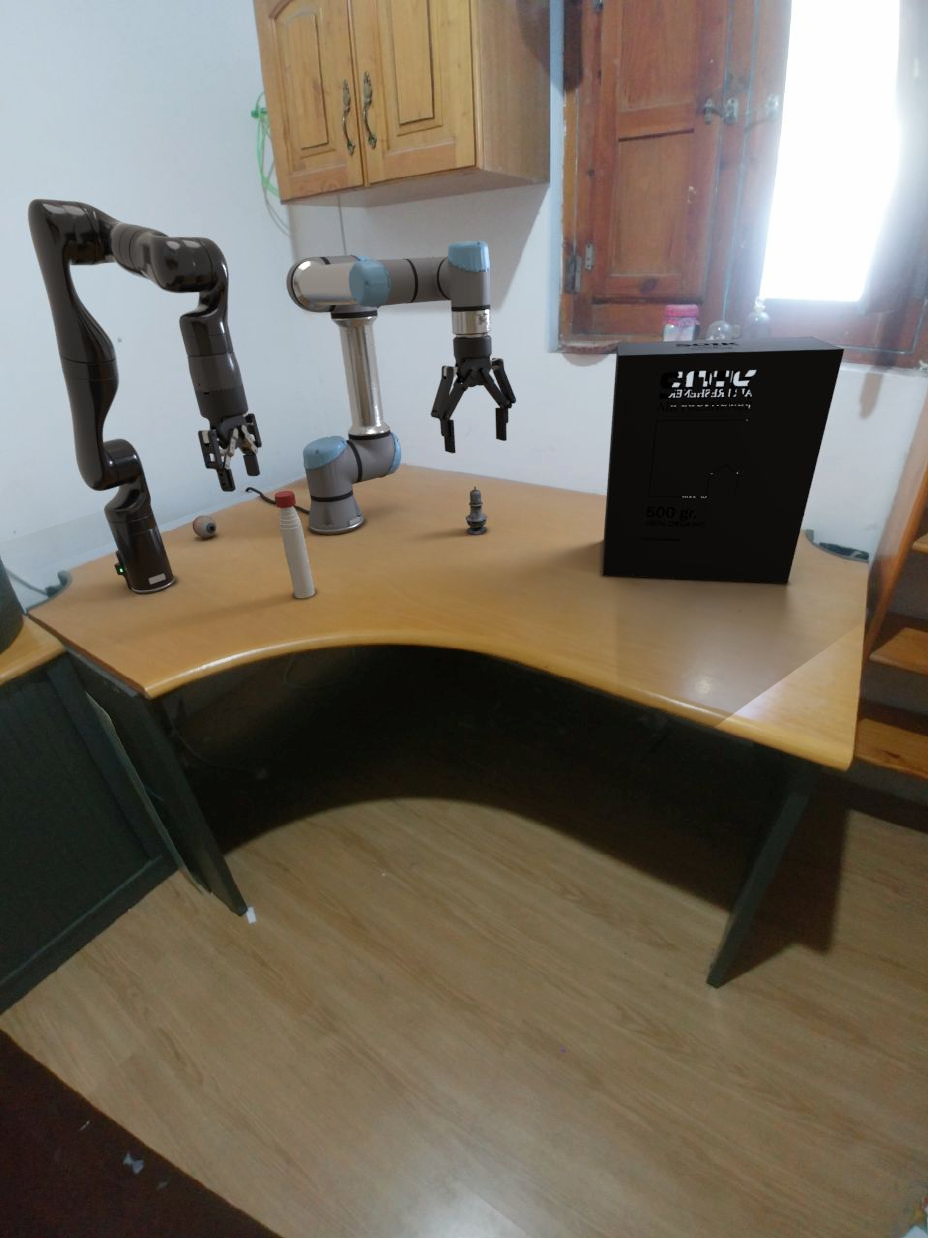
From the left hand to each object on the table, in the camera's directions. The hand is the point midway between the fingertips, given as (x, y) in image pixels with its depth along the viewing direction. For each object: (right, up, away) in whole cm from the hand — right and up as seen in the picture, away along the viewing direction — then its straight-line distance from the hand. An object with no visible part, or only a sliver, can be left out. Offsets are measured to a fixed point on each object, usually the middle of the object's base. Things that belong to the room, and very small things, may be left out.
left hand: (242, 483), depth 104 cm
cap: (+2, +2, +18) cm, 18 cm away
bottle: (+3, -18, +29) cm, 34 cm away
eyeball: (-32, -1, +62) cm, 70 cm away
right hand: (+41, +13, +23) cm, 49 cm away
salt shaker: (+42, 0, +56) cm, 70 cm away
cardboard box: (+90, -10, +34) cm, 96 cm away
